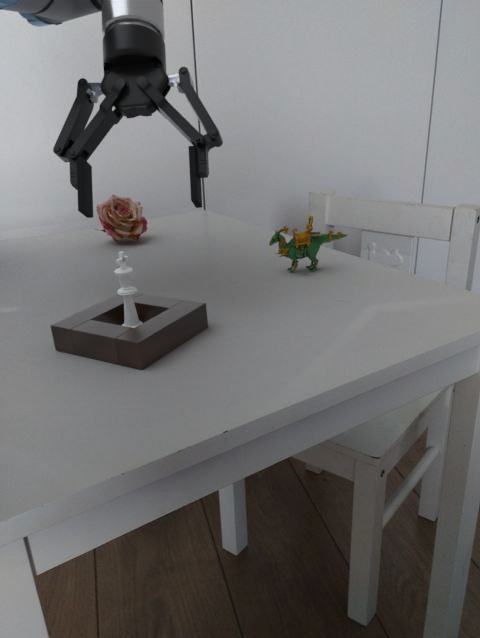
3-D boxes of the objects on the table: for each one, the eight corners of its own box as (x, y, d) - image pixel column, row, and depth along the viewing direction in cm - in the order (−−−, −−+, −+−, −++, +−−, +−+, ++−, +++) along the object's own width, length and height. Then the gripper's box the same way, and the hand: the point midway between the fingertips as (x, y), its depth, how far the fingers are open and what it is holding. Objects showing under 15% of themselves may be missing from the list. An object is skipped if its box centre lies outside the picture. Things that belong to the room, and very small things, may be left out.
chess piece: (103, 344, 64) (87, 257, 60) (128, 327, 68) (115, 245, 64) (140, 349, 62) (127, 260, 58) (164, 331, 66) (153, 247, 62)
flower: (83, 233, 108) (87, 201, 102) (117, 213, 113) (123, 183, 107) (120, 264, 106) (127, 234, 100) (153, 243, 112) (161, 214, 106)
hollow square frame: (55, 350, 63) (49, 325, 62) (128, 312, 73) (124, 290, 71) (142, 370, 58) (138, 343, 56) (208, 326, 67) (206, 302, 66)
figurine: (268, 270, 87) (266, 216, 83) (344, 263, 88) (345, 209, 85) (272, 276, 84) (270, 220, 80) (350, 268, 86) (351, 213, 82)
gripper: (239, 47, 72) (248, 209, 70) (51, 69, 75) (55, 227, 73) (229, 7, 65) (239, 187, 63) (21, 33, 67) (24, 208, 65)
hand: (140, 209), depth 68 cm, fingers open, 13 cm apart
